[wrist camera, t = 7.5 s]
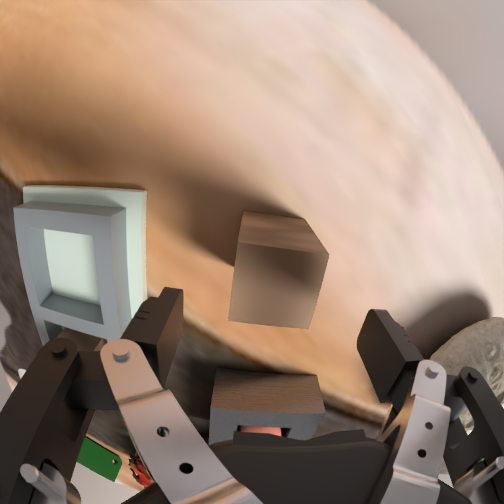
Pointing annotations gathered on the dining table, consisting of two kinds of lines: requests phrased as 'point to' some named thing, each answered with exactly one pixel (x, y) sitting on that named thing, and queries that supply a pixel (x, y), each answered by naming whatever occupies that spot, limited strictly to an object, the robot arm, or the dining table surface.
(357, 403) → the dining table surface
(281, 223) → the walnut billet
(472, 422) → the decorative shell
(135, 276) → the gray compartment tray
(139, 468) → the dragon fruit
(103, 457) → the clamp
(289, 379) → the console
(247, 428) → the button
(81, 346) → the block
